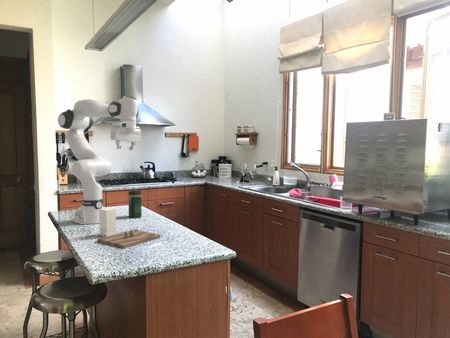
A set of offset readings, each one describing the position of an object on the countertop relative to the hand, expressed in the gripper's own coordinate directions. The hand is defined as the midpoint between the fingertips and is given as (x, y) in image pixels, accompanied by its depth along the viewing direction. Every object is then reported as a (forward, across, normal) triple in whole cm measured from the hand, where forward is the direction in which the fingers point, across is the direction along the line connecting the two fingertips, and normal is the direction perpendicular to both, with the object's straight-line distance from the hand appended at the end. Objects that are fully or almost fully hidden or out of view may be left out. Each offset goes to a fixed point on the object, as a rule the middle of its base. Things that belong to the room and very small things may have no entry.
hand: (125, 149), depth 208 cm
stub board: (+45, +12, +22) cm, 51 cm away
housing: (+46, +10, +5) cm, 48 cm away
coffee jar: (+45, -31, -16) cm, 56 cm away
